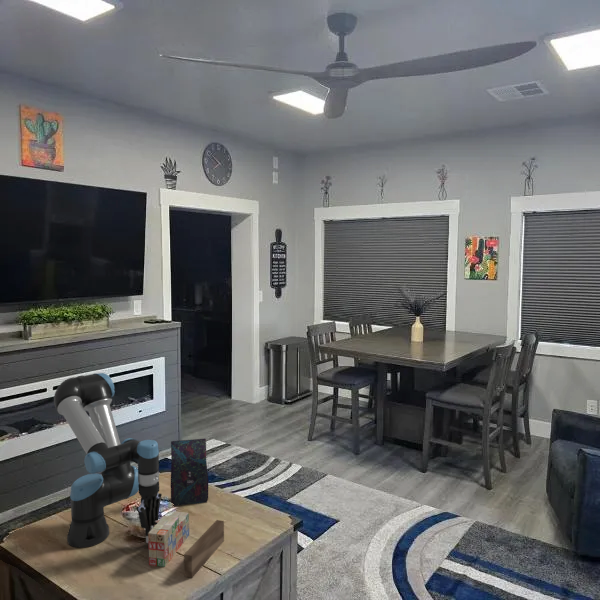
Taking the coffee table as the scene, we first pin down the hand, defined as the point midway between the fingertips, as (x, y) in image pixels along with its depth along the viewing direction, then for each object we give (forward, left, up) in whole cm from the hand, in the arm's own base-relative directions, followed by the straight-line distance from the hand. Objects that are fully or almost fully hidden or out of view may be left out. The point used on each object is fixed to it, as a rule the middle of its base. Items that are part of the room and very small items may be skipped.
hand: (150, 542), depth 193 cm
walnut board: (+23, 0, -2) cm, 23 cm away
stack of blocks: (+8, +1, -2) cm, 8 cm away
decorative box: (-5, +37, -2) cm, 37 cm away
